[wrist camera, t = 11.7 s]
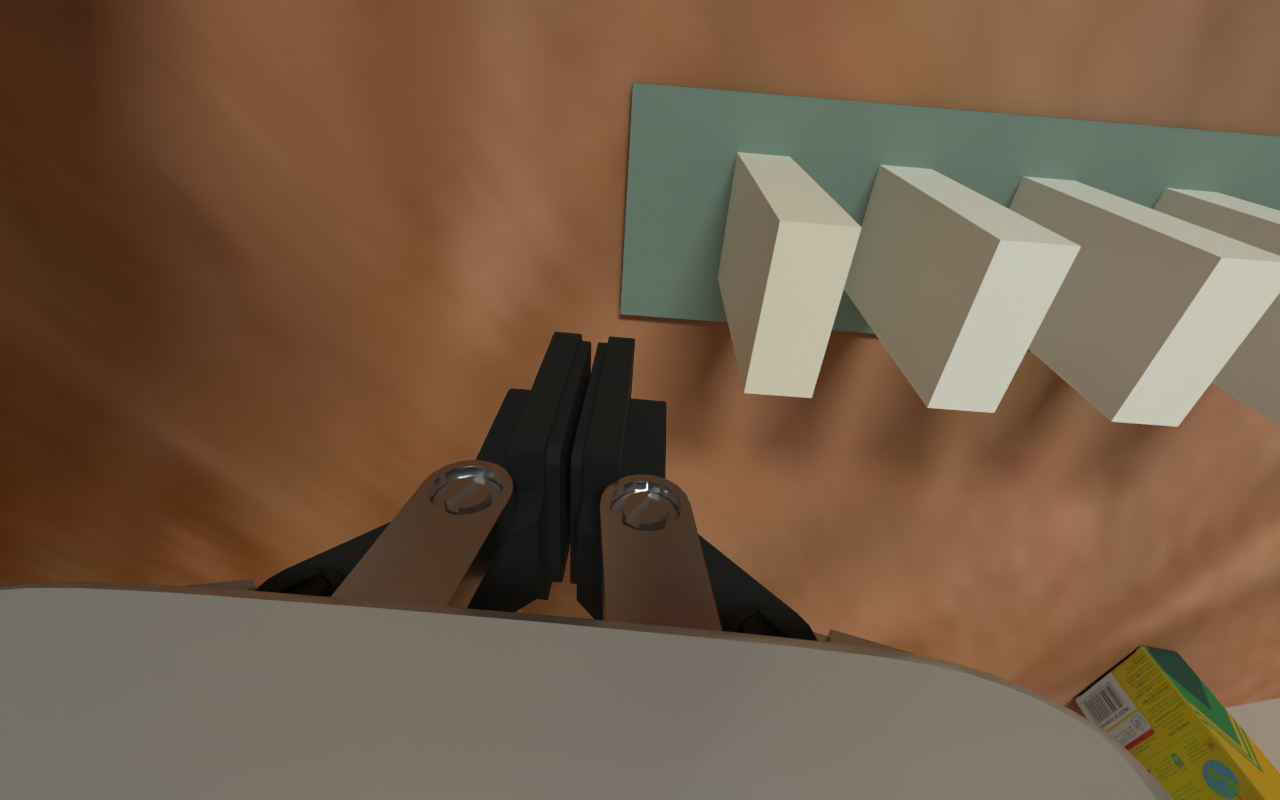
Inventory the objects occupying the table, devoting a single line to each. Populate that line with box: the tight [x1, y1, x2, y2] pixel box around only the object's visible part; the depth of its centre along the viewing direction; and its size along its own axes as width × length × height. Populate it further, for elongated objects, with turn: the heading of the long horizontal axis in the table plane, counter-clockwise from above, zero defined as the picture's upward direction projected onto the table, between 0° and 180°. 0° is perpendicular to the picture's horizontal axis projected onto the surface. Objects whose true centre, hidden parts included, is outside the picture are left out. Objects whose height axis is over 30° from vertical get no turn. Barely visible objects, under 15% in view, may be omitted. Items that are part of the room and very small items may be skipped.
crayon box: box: [1074, 646, 1280, 800], centre depth 35 cm, size 7×3×12 cm, turn 167°
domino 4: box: [1153, 188, 1280, 426], centre depth 19 cm, size 2×5×9 cm, turn 176°
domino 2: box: [844, 165, 1081, 413], centre depth 19 cm, size 2×5×9 cm, turn 176°
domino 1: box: [718, 152, 862, 398], centre depth 19 cm, size 2×5×9 cm, turn 176°
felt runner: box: [620, 83, 1280, 334], centre depth 23 cm, size 32×9×1 cm, turn 86°
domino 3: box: [1009, 176, 1280, 427], centre depth 19 cm, size 2×5×9 cm, turn 176°
